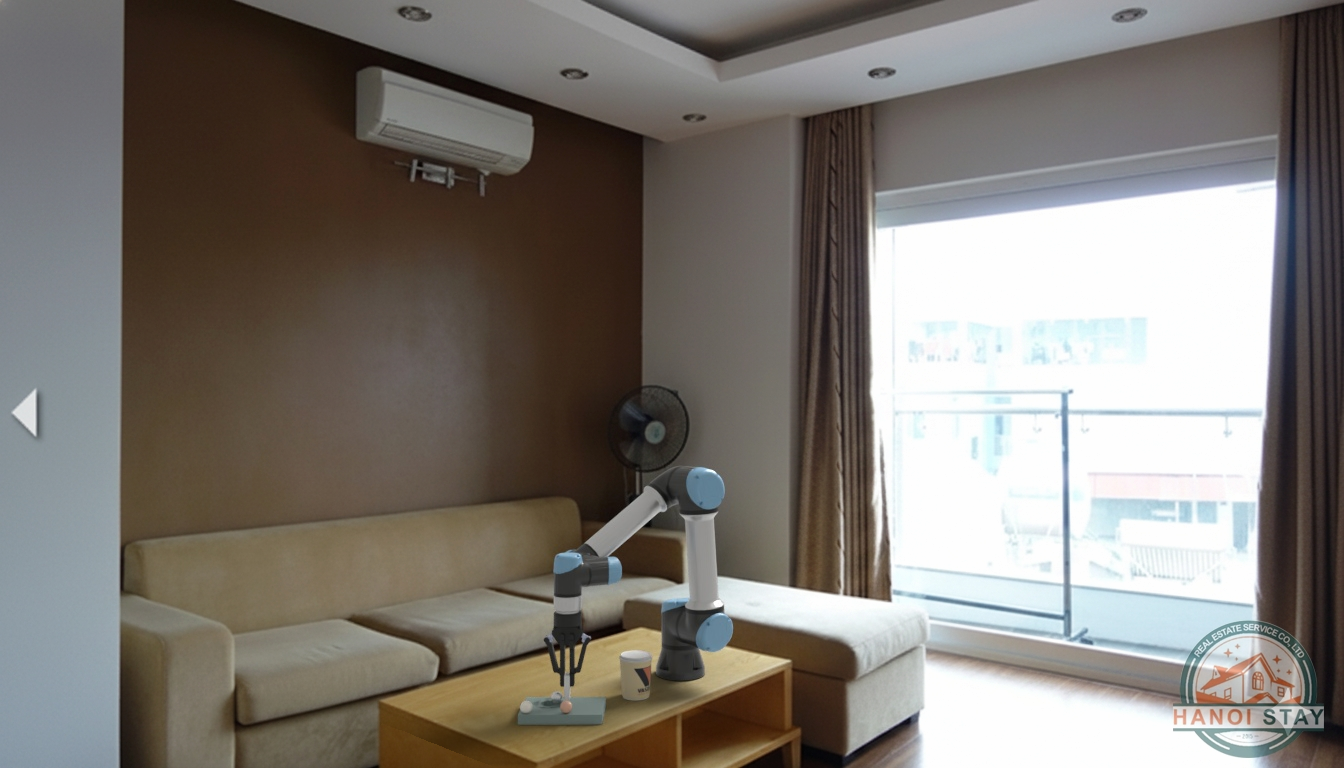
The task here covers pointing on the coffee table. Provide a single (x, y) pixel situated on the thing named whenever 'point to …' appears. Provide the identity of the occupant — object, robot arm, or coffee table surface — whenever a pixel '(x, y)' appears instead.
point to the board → (551, 714)
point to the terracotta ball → (566, 706)
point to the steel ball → (556, 697)
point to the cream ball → (526, 706)
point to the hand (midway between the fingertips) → (567, 698)
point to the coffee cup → (635, 674)
